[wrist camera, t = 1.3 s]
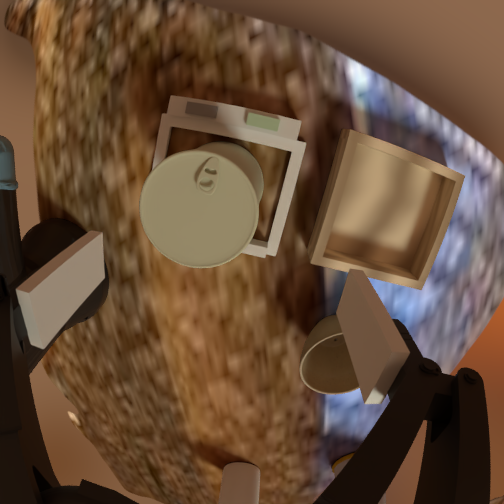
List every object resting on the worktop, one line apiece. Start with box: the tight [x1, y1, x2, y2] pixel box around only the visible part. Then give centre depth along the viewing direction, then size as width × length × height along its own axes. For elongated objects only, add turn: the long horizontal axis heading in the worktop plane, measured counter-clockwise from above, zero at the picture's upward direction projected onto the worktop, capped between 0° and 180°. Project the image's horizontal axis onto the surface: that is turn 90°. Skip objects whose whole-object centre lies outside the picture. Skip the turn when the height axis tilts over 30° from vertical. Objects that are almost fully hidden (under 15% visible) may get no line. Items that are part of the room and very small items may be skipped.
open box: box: [307, 129, 465, 290], centre depth 31 cm, size 14×14×4 cm
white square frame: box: [152, 95, 306, 258], centre depth 31 cm, size 15×15×3 cm
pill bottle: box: [218, 462, 260, 504], centre depth 49 cm, size 8×8×15 cm
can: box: [139, 141, 264, 268], centre depth 28 cm, size 9×9×12 cm
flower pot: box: [300, 315, 360, 394], centre depth 36 cm, size 10×10×7 cm
